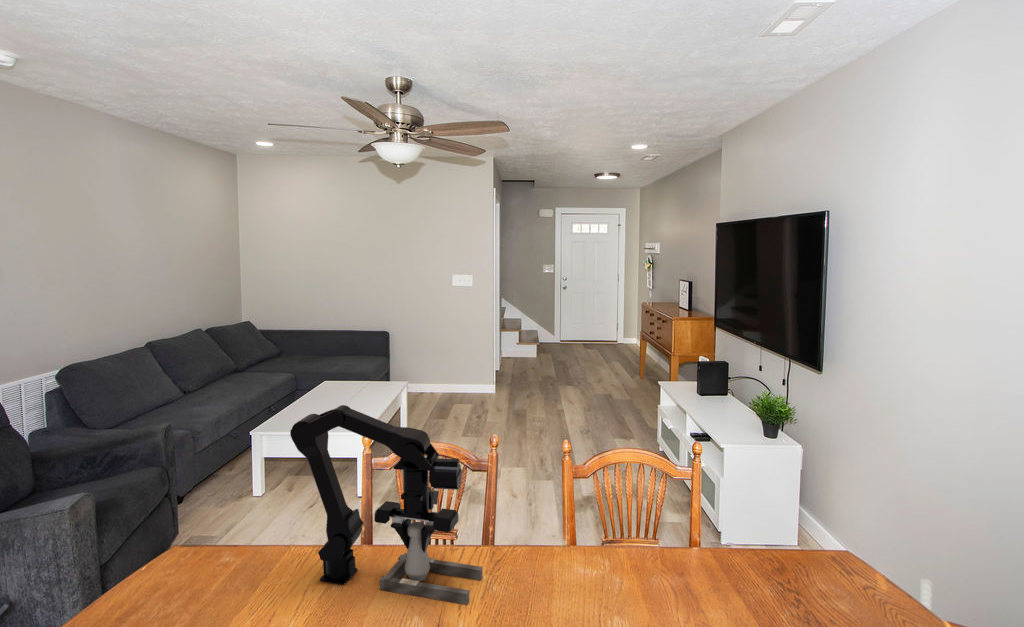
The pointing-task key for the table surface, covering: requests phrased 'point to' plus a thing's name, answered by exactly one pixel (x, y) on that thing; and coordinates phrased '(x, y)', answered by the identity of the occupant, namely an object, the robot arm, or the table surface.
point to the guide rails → (431, 590)
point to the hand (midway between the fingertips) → (417, 550)
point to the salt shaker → (416, 554)
